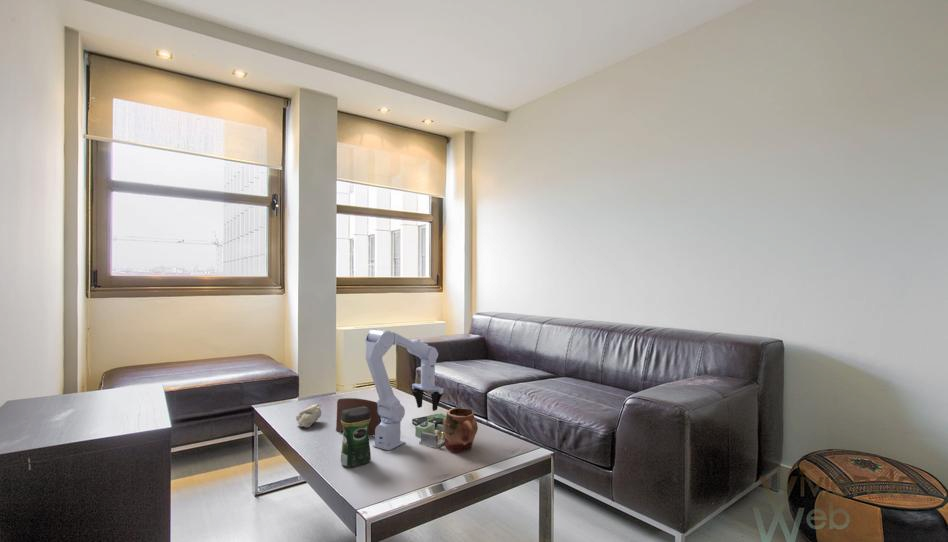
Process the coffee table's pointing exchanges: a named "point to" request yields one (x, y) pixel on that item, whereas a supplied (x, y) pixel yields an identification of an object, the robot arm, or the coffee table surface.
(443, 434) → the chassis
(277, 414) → the coffee table surface
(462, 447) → the decorative planter
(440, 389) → the robot arm
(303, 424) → the fossil replica
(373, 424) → the letter holder
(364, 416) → the coffee jar
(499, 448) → the coffee table surface
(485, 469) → the coffee table surface
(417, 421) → the disk drive
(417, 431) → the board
